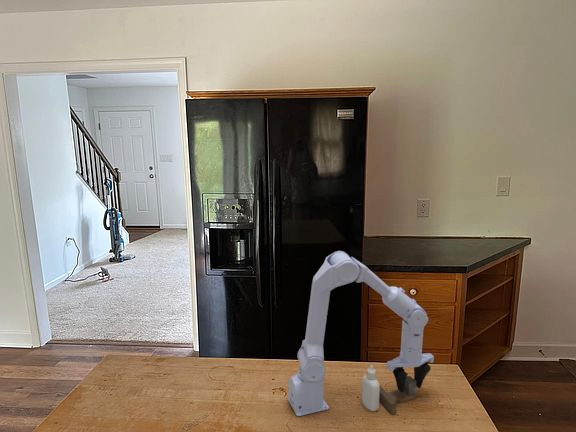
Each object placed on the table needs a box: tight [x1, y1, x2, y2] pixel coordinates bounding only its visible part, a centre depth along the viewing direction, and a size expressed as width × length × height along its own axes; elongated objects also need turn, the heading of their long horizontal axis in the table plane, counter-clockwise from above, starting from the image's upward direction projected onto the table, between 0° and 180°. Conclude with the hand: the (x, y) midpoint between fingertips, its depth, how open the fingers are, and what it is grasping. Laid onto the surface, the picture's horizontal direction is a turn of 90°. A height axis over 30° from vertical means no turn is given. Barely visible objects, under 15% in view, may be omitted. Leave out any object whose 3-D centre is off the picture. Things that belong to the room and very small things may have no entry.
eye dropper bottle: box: [361, 364, 381, 412], centre depth 107 cm, size 4×6×12 cm
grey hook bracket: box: [379, 375, 418, 415], centre depth 110 cm, size 11×11×5 cm
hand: (409, 388), depth 111 cm, fingers open, 5 cm apart
